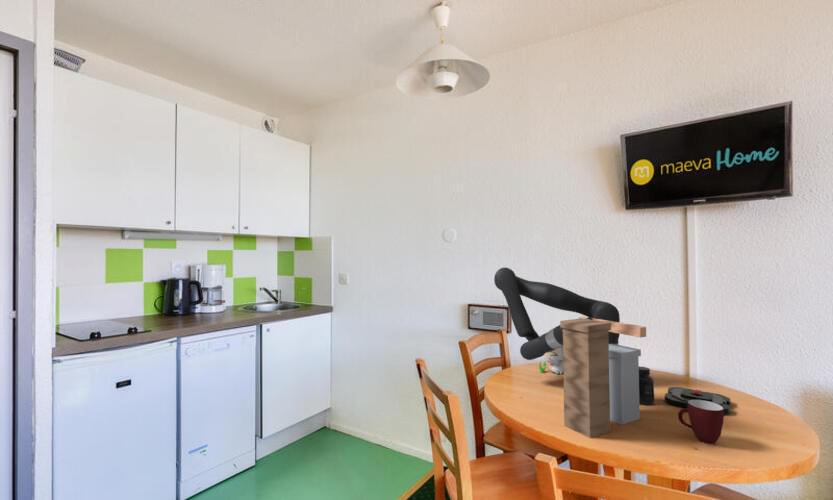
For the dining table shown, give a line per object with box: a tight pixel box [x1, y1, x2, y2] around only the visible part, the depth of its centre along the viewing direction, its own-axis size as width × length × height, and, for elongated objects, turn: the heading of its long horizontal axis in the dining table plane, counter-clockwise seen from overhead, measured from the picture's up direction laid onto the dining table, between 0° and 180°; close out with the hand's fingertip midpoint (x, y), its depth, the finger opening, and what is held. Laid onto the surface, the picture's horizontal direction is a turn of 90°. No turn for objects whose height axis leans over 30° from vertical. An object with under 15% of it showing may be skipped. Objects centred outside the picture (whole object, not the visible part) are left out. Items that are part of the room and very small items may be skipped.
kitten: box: [538, 347, 564, 375], centre depth 170 cm, size 15×10×15 cm, turn 90°
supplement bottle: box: [639, 366, 655, 406], centre depth 135 cm, size 7×7×12 cm
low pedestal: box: [609, 344, 642, 426], centre depth 122 cm, size 10×10×22 cm
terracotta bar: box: [578, 316, 647, 338], centre depth 125 cm, size 22×3×3 cm, turn 28°
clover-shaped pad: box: [663, 386, 731, 414], centre depth 133 cm, size 18×18×5 cm
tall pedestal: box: [559, 318, 611, 439], centre depth 114 cm, size 10×10×32 cm
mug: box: [677, 400, 725, 445], centre depth 106 cm, size 10×8×10 cm
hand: (595, 319), depth 129 cm, fingers closed on terracotta bar, 3 cm apart
